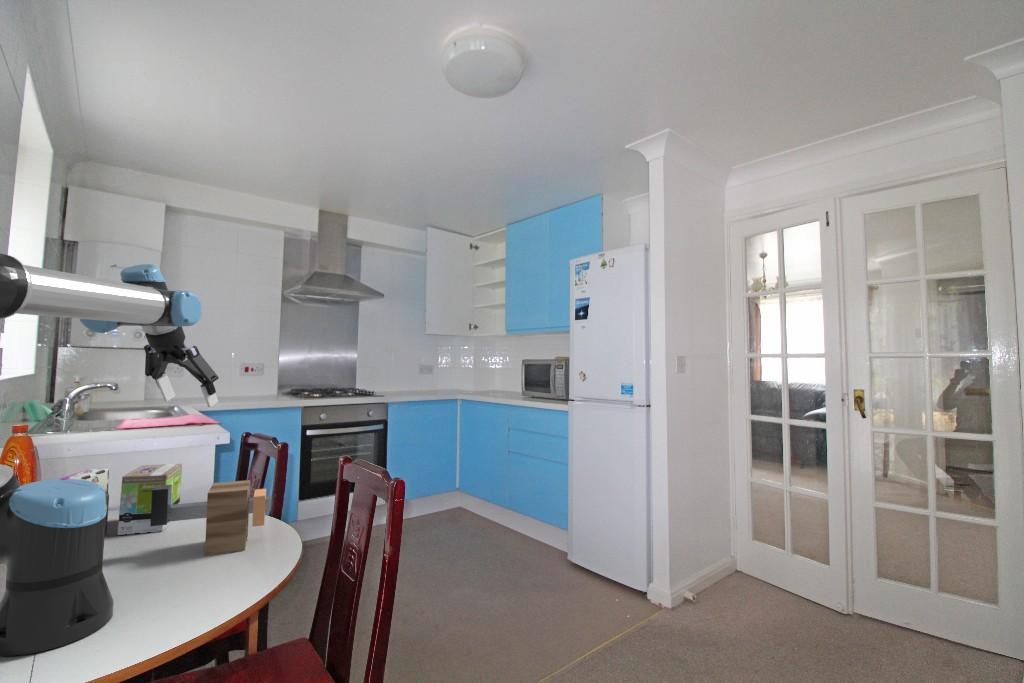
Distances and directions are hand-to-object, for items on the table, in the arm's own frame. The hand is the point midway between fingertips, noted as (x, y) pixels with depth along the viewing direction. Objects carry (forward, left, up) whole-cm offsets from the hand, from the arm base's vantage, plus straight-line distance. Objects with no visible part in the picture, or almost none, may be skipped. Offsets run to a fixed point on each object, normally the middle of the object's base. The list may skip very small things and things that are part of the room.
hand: (191, 401), depth 127 cm
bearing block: (-16, -11, -33) cm, 38 cm away
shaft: (-16, -8, -26) cm, 32 cm away
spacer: (-16, -17, -28) cm, 37 cm away
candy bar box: (-1, +21, -33) cm, 40 cm away
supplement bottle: (+12, +22, -33) cm, 42 cm away
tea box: (+8, +9, -34) cm, 36 cm away
